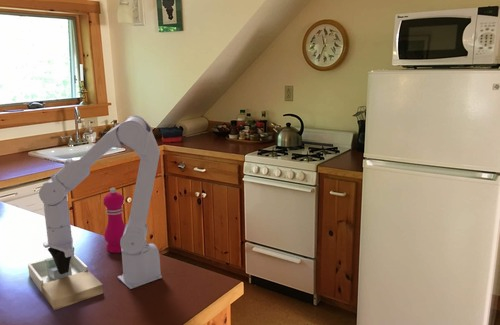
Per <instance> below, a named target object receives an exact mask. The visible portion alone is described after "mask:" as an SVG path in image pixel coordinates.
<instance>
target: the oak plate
mask: <svg viewBox="0 0 500 325" xmlns="http://www.w3.org/2000/svg"><path fill="white" fill-rule="evenodd" d="M103 285H104V284H103V283H102V282H101V281H100V280H99V279H98V278H97V277H95V275H94V274H93V273H92V272H91V271H90V270H89V269H88V270H86V271H83V272H80V273H77V274H73V275H70V276H67V277H64V278H61V279H57V280H54V281H51V282H48V283H44V284H41V288H42V292H41V294H42V295H43V297H44V298H45V300H46V301H47V302H48V303H49V305H50V306H51V308H52V309H53V310H54V311H56V310H59V309H62V308H65V307H68V306H71V305H73V304H74V305H75V304H76V303H79V302H82V301H86V300H88V299H91V298H93V297H96V296H99V295H103V293H104V287H103Z"/></svg>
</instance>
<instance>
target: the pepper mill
mask: <svg viewBox="0 0 500 325" xmlns="http://www.w3.org/2000/svg"><path fill="white" fill-rule="evenodd" d="M124 202H125V198H124V196H123V195H122V194H121V193H119V192H117V188H115V187H112V188H110V189H109V192H108V193H107V194H105V196H104V198H103V205H104V207H106V208H105V214H107V224H106V226H105V227H106V228H105V230H104V240H105V242H106V243H107V244H106V250H107V251H108V252H110V253H114V254H115V253H122V250H121V246H120V240H121V238H122V236H123V233H124V229H125V226H126V224H125V223H124V221H123V216H122V215H123V212H124V209H123V208H124V207H123V205H124Z"/></svg>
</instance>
